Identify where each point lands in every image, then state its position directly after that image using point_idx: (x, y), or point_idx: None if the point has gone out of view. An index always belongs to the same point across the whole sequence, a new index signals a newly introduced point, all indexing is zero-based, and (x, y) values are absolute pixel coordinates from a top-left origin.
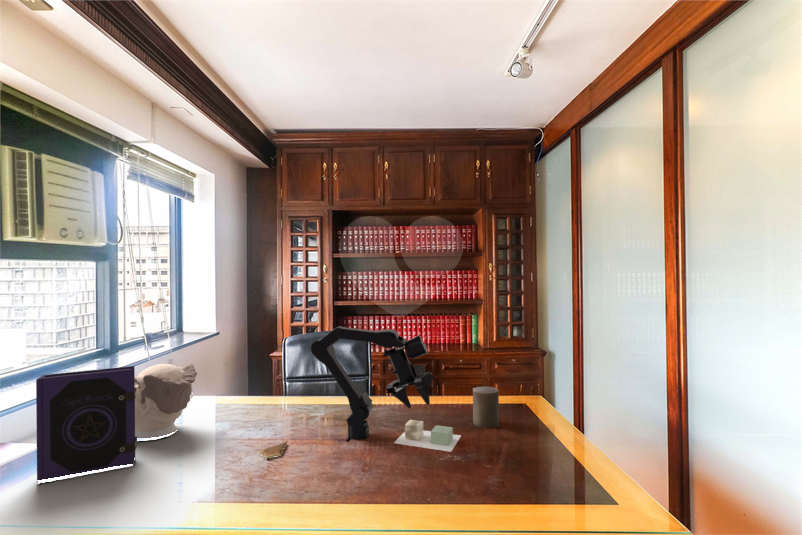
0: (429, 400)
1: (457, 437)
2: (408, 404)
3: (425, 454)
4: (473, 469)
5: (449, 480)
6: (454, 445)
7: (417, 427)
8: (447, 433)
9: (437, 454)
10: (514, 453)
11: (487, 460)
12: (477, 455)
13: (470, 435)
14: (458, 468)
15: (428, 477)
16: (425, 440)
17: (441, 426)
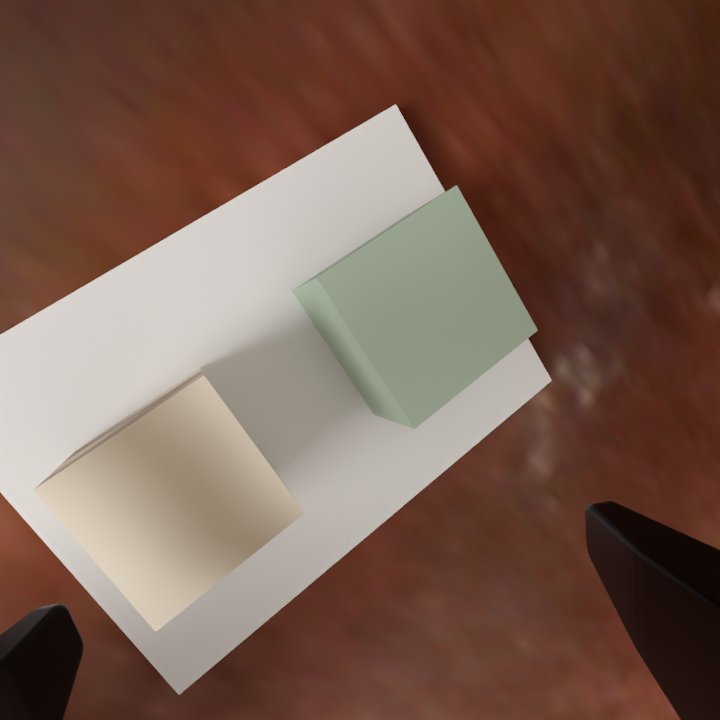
0: (664, 527)
1: (406, 160)
2: (39, 703)
3: (442, 522)
4: (706, 394)
5: None
6: None
7: (289, 517)
8: (530, 330)
9: (486, 451)
10: (709, 60)
11: (685, 254)
12: (622, 250)
13: (385, 9)
14: (664, 454)
15: None
16: (303, 419)
17: (376, 255)
